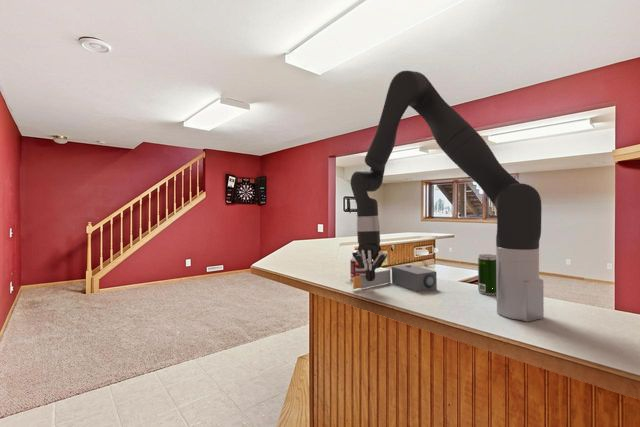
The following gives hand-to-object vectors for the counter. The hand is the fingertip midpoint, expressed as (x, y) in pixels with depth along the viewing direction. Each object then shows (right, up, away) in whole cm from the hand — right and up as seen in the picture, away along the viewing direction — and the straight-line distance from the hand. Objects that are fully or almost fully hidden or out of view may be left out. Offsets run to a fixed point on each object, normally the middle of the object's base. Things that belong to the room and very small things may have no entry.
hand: (370, 280), depth 107 cm
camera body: (+16, -3, +4) cm, 16 cm away
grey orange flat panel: (+1, -3, +4) cm, 5 cm away
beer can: (+36, -3, -7) cm, 37 cm away
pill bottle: (-2, -3, +16) cm, 16 cm away
